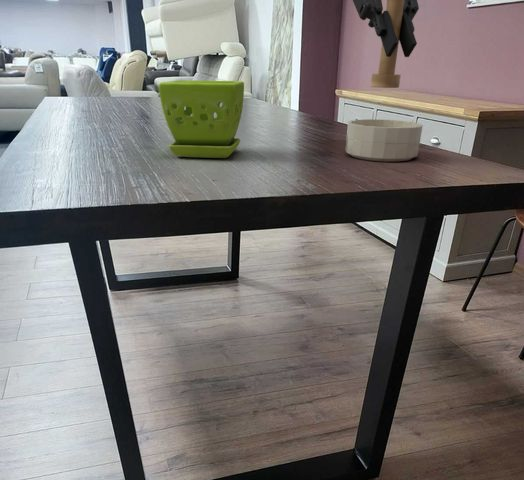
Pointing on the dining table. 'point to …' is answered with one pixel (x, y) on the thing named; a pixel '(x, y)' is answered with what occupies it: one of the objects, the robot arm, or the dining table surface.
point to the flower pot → (202, 116)
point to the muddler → (387, 64)
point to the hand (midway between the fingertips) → (401, 49)
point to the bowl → (383, 139)
